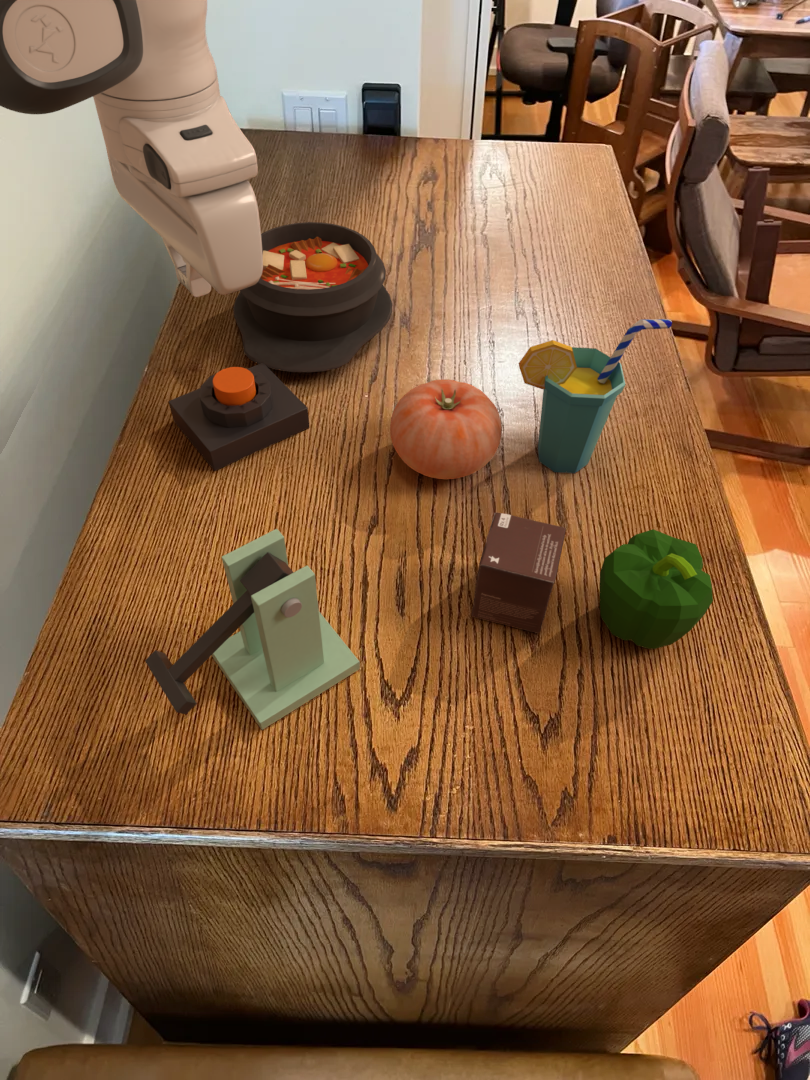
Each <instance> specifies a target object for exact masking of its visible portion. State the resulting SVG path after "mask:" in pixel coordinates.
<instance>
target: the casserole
mask: <svg viewBox="0 0 810 1080" xmlns="http://www.w3.org/2000/svg"><path fill="white" fill-rule="evenodd" d="M261 240H262V254H263V272H262V275H261V277H260V279H259V281H258V282H257V284H255V285H253V286H250V287H248V288H245V289H242V290H239V291H238V292H239V293H238V294H237V296H236V298H235V300H234V304H233V307H232V309H233V318H234V320H235V322H236V325H237V327H238V329H239V331H240V334H241V338H242V346H243V347H242V348H243V353H244V355H245V356H246V357H247V358H248V359H249V360H250V361H251V362H254V363H256V364H257V365H258V364H261V363H264V364H265V365H266V366H267V367H268V368H269V369H272V370H276V371H283V372H289V373H319V372H326V371H327V372H328V371H331V370H335V369H339V368H341V367H343V366H344V365H347V364H349V362H350V361H351V360H352V359H353V357H355V355H356V354H357V353H358V352H359V351H360V349H361V348H362V347H363V346H364V345H365V344H366V343H368V342H369V341H370V340H371V339H373V338H374V337H375V336H376V335H378V334H379V333H380V332H381V331H382V330H383V329H384V328H385V327H386V325H387V324H389V321H390V319H391V316H392V314H393V301H392V298H391V295H390V293H389V291H388V290H387V289H386V287H385V285H384V283H385V281H386V276H387V275H386V274H387V269H386V267H385V263H384V260H382V258H381V257H380V255H379V254H377V251H376V248H375V246H374V245H373V243H372V242H371V241H370V240H369V239H368V238H367V237H366V236H365V235H364V234H361V233H359V232H358V231H356V230H354V229H352V228H349V227H347V226H343V225H339V224H336V223H328V222H318V221H317V222H315V221H305V222H304V221H303V222H295V223H289V224H284V225H280V226H276V227H273V228H270V229H268V230H266V231H263V232H261Z"/></svg>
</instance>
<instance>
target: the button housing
mask: <svg viewBox="0 0 810 1080" xmlns="http://www.w3.org/2000/svg"><path fill="white" fill-rule="evenodd" d="M246 369H247V370H249V371H250V372H251V373H252V374H253V376H254V381H255V387H256V395H255V397H254V398H253V399H252V400H251V401H249V402H247V403H245V404H242V405H233V406H227V405H224V404H222V403H220V402H219V401H218V400H217V399H216V396H215V391H214V386H213V378H214V376H215V375H216V374H217V373H214V374H212V375H209V377H208V378H207V379H206V380H205V381H204V382H203V383H202V384H201V385H200V387H199V388H196V389H195V390H192V391H190V392H187V393H184V394H182V395H180V396H178V397H175V398H172V399H170V400H168V401H167V402H168V406H169V409H170V413H171V416H172V420H173V422H174V423H175V424H176V426H177V427H178V428H179V430H180V431H181V432H182V433H183V434H184V436H185V437H186V438H187V440H188V441H189V442H190V443H191V444H192V446H193V447H194V448H195V449H196V450H197V452H198V453H199V454H200V455H201V457H202V458H203V459H204V460H205V462H207V464H208V465H209V466H210V467H211V469H212V470H213V471H214V472H216V471H218V470H220V469H222V468H225V467H227V466H229V465H231V464H233V463H236V462H238V461H240V460H242V459H244V458H246V457H248V456H251V455H253V454H255V453H257V452H259V451H262V450H263V449H266V448H268V447H271V446H272V445H275V444H277V443H279V442H281V441H284V440H286V439H288V438H290V437H292V436H294V435H296V434H299V433H301V432H303V431H305V430H309V428H310V418H309V408H308V406H307V405H306V404H305V403H303V401H302V400H301V399H300V398H299V397H297V395H296V394H295V393H294V392H293V391H292V390H291V389H290V388H289V387H288V386H287V385H286V384H285V383H284V382H283V381H282V380H281V379H280V378H279V377H278V376H277V375H276V374H275V373H274V371H272V370H271V368H269V367H267V366H266V365H265V364H264V363H261V364H258V363H257V364H256V365H254V366H251V367H249V368H246Z"/></svg>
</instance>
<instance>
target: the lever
mask: <svg viewBox="0 0 810 1080" xmlns="http://www.w3.org/2000/svg"><path fill="white" fill-rule="evenodd" d="M294 572H295V571H294V570H292V568H291V567H290V566H289V564H288V565H287V564H286V562H284V561H282V560H281V559H279V558H277V557H276V556H274V555H272V554H271V553H269V552H267V553H266V554H265V555H264V556H263V557H262V558H261V559H260V560H259V561H258V562H257V563H256V564H255V565H254V566H253V567H252V568H251V569H250V570H249V571H248V572H247V573H246V574H245V575H244V576H243V577H242V578H241V579H240V581H241V583H242V584H243V585H244V587H245V588H246V589H247V591H246V592H245V593H244V594H243V595H242V596H241V597H240V598H239V599H238V600H237V601H236V602H235V603H234V604H233V603H232V605H231V606H230V607H229V608H228V609H226V611H225V612H223V614H222V615H220V616H219V618H218V619H217V620H216V621H215V622H214V623H213V624H212V625H210V627H208V629H207V630H206V631H205V632H204V633H203V634H202V635H201V636H200V637H199V638H198V639H197V640H196V641H195V642H193V644H192V645H191V646H190V647H189V648H188V649H187V650H186V651H185V652H184V653H183V654H182V655H181V656H180V657H179V658H178V659H177V660H176V661H175V662H174V663H172V662H171V660H170V658H169V657H168V655H167V654H166V652H163V651H159V650H156V649H154V651H153V652H152V653H150V655H149V656H148V657H147V658H145V660H144V662H145V664H146V665H147V667H148V668H149V670H150V671H151V674H152V675H153V677H154V678H155V680H156V682H157V683H158V685H159V687H160V689H161V690H162V692H163V693H164V695H165V696H166V698H167V700H168V701H169V703H170V705H171V706H172V708H173V709H174V711H175V712H176V714H177V713H178V714H180V715H181V714H182V715H188V713H189V712H190V711H192V710H193V708H194V707H195V706H196V705H197V704H198V703H197V701H196V700H195V698H194V696H193V694H192V693H191V692H190V690H189V689H188V687H187V686H186V684H185V683H186V682H187V681H188V680H189V678H191V676H192V675H194V674H195V673H196V672H197V670H199V669H200V667H201V666H202V665H204V663H206V662H207V661H208V659H209V658H210V657H212V654H213V653H214V652H215V651H216V650H217V649H218V648H219V647H220V646H221V645H222V644H223V643H224V642H225V641H226V640H227V639H228V638H229V637H231V636H233V635H234V634H235V632H236V631H237V630H238V629H240V628H239V627H240V626H241V625H242V624H243V623H244V622H245V621H246V620H247V619H248V618H249V617H250V616H251V615H252V614H253V613H254V608H253V604H252V599H251V595H253V594H255V593H257V592H259V591H261V590H262V589H264V588H266V587H268V586H270V585H272V584H273V583H275V582H277V581H279V580H281V579H283V578H285V577H286V576H288V575H290V574H292V573H294Z"/></svg>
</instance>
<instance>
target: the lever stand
mask: <svg viewBox="0 0 810 1080" xmlns="http://www.w3.org/2000/svg"><path fill="white" fill-rule="evenodd" d="M285 541H286V540H285V536H284V535H283V534H282V532H281V531H280V530H279V529H278V528H275V529H273V530H271V531H269V532H267V533H265V534H263V535H261V536H259V537H257V538H255V539H253V540H251V541H250V542H248V543H246V544H244V545H241V546H239V547H237V548H236V549H234V550H232V551H230V552H227V553H226V554H224V555H221V561H222V565H223V569H224V573H225V577H226V580H227V585H228V588H229V592H230V596H231V601H232V605H233V604H234V603H235V602H236V601H237V600H238V599H239V598H240V597H241V596H242V595H243V594H244V593H245V592H246V591H247V589H246V588H245V587H244V585H243V584H242V583H241V581H240V579H241V578H242V577H243V576H244V575H245V574H246V573H247V572H248V571H249V570H250V569H251V568H252V567H253V566H254V565H255V564H256V563H257V562H258V561H259V560H260V559H261V558H262V557H263V556H264V555H265V554H266V553H267V552H269V553H271V554H272V555H274V556H276V557H277V558H279V559H281V560H282V561H284V562H286V564H287V565H288V566H289V562H288V561H289V560H288V553H287V548H286V542H285ZM293 572H294V573H292V574H290V575H288V576H286V577H285V578H283V579H281V580H279V581H277V582H275V583H273V584H272V585H270V586H268V587H266V588H264V589H262V590H261V591H259V592H257V593H255V594H253V595H251V599H252V604H253V608H254V613H253V614H252V615H251V616H250V617H249V618H248V619H247V620H246V621H245V622H244V623H243V624H242V625H241V626H240V627H239V628H238V629H239V631H238V632H236V633H234V634H232V635H231V636H230V637H229V638H228V639H227V640H226V641H225V642H224V643H223V644H222V645H221V646H220V647H219V648H218V649H217V650H216V651H215V652H214V653H213V654H212V655H211V657H212V658H213V660H214V661H215V664H216V665H217V666H218V668H219V669H220V671H221V672H222V673H223V675H224V677H225V678H226V680H227V681H228V682H229V684H230V685H231V687H232V688H233V690H234V692H235V693H236V694H237V696H238V697H239V698H240V700H241V701H242V703H243V705H244V706H245V708H246V709H247V710H248V712H249V714H250V715H251V716H252V718H253V720H254V721H255V722H256V723H257V725H258V727H259V729H260V730H261V731H264V730H265V729H267V728H268V727H269V726H272V725H273V724H274V723H276V722H278V721H279V720H281V719H282V718H284V717H286V716H287V715H289V714H291V713H292V712H294V711H295V710H297V709H298V708H300V707H302V706H303V705H305V704H306V703H308V702H309V701H311V700H313V699H314V698H316V697H318V696H319V695H320V694H322V693H324V692H326V691H327V690H329V689H330V688H332V687H333V686H335V685H336V684H338V683H340V682H341V681H343V680H345V679H346V678H348V677H350V676H352V675H353V674H354V673H356V672H358V671H359V670H361V663H360V660H359V659H358V658H357V657H356V655H355V654H354V653H353V651H352V650H351V649H350V648H349V646H348V645H347V644H346V643H345V641H344V640H343V639H342V638H341V637H340V635H339V634H338V633H337V632H336V630H335V629H334V628H333V627H332V625H331V624H330V622H328V620H327V619H326V618H325V617H324V615H323V614H322V613H321V612H320V609H319V600H318V589H317V581H316V574H315V572H314V571H313V570H312V569H311V567H310V566H309V565H304V566H303V567H301V568H299V569H297V570H295V571H293Z"/></svg>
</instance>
